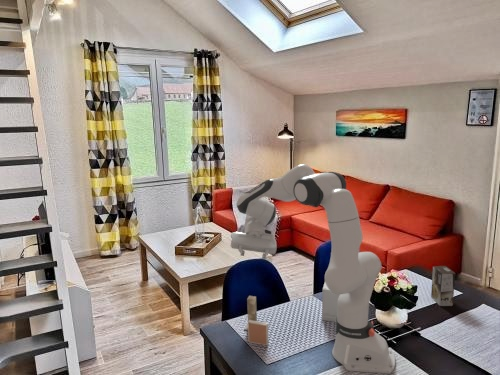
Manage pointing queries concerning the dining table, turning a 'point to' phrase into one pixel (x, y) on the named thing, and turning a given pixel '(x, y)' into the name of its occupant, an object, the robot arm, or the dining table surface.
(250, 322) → the tile
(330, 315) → the supplement box
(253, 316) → the wooden post on base
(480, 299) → the dining table surface
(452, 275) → the coffee box
